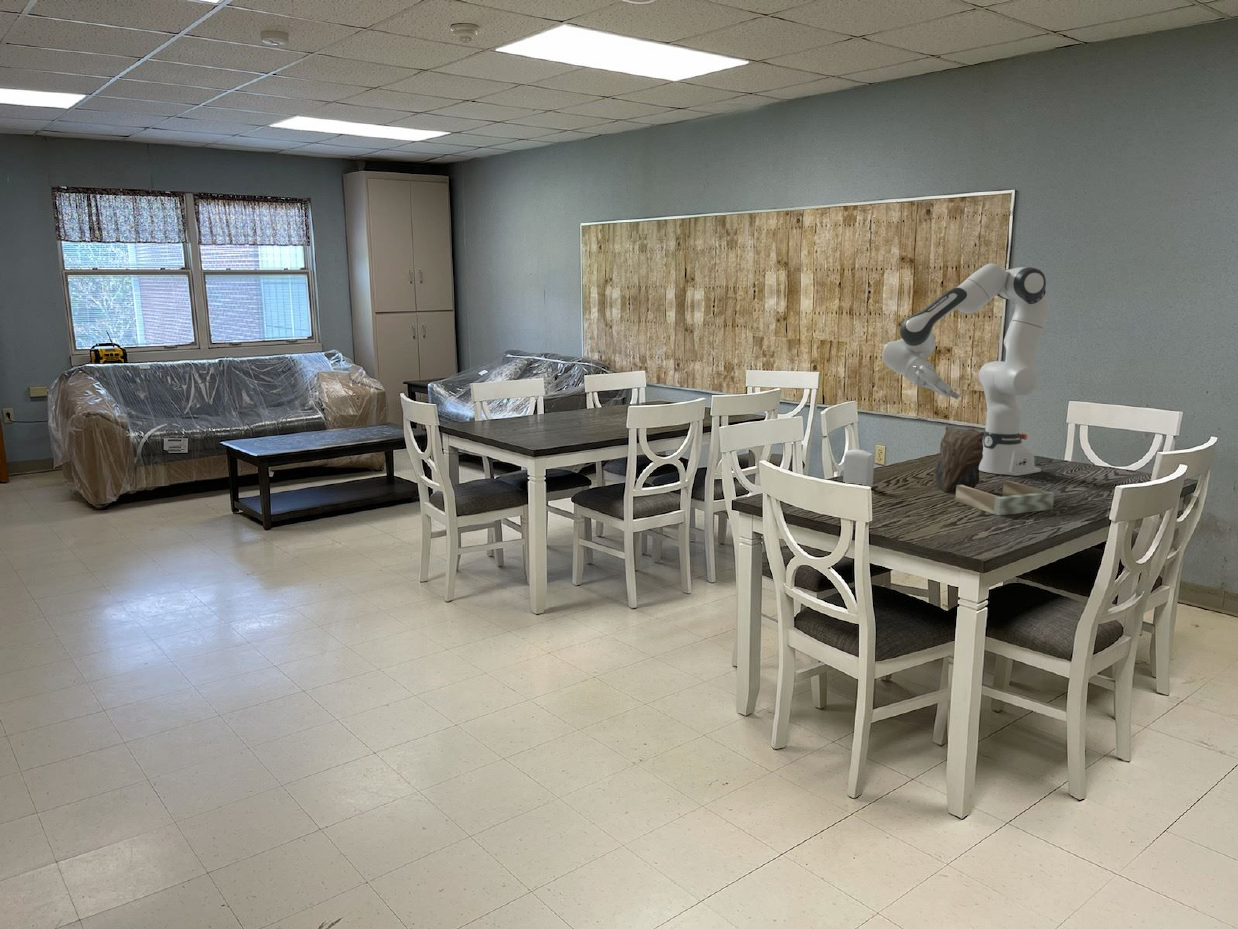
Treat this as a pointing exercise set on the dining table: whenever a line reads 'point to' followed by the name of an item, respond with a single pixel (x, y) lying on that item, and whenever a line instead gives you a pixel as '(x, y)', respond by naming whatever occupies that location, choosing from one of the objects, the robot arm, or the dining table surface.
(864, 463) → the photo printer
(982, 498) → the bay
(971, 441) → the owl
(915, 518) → the dining table surface
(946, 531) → the dining table surface
